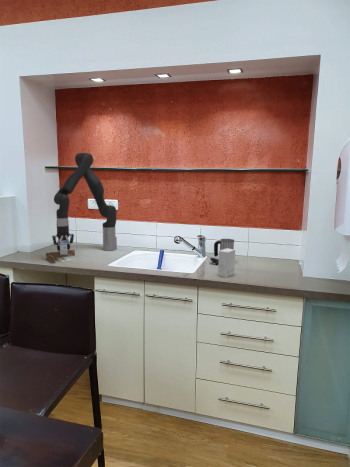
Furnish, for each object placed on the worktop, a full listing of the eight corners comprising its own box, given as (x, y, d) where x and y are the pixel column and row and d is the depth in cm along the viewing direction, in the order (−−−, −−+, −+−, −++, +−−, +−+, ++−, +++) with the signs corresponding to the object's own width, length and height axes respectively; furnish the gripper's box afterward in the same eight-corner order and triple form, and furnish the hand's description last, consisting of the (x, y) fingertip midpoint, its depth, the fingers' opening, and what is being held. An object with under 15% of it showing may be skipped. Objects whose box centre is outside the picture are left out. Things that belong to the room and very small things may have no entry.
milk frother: (234, 260, 230) (235, 238, 228) (231, 266, 216) (232, 243, 213) (213, 259, 235) (214, 237, 232) (208, 264, 220) (209, 241, 217)
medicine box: (60, 252, 231) (59, 239, 229) (67, 251, 232) (66, 239, 231) (60, 254, 223) (59, 241, 222) (67, 254, 225) (66, 241, 223)
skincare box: (226, 272, 203) (227, 247, 200) (234, 274, 199) (235, 249, 196) (217, 275, 197) (218, 250, 194) (226, 277, 193) (227, 251, 190)
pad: (66, 257, 235) (66, 256, 235) (72, 260, 226) (72, 260, 226) (56, 258, 231) (56, 258, 231) (61, 262, 222) (61, 261, 222)
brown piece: (74, 255, 241) (73, 249, 241) (82, 259, 230) (82, 253, 229) (46, 258, 230) (45, 253, 229) (52, 263, 218) (52, 257, 218)
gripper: (53, 226, 217) (54, 252, 220) (75, 224, 226) (76, 250, 229) (49, 225, 223) (50, 250, 226) (71, 223, 232) (72, 248, 235)
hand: (63, 250), depth 227 cm, fingers closed on medicine box, 5 cm apart
